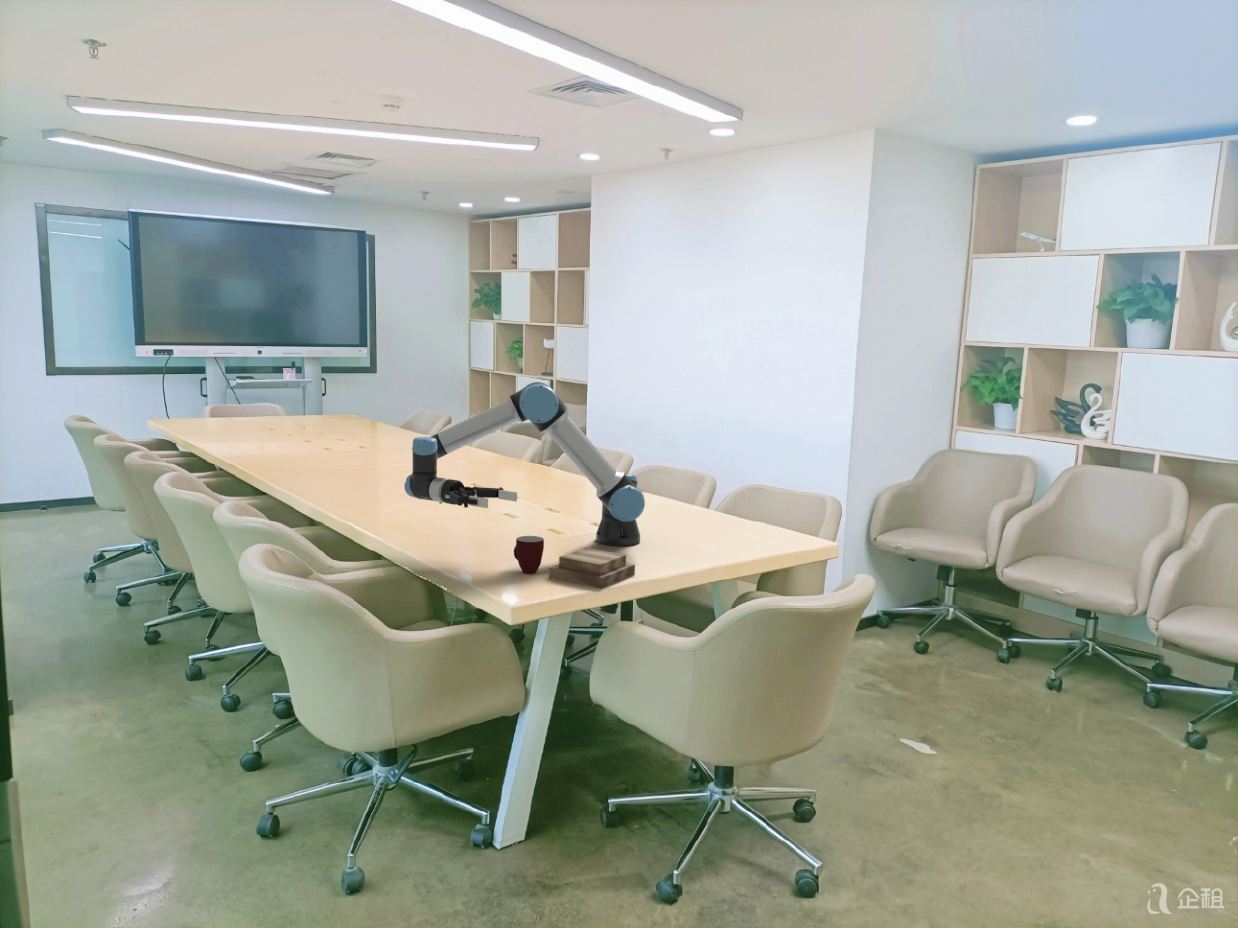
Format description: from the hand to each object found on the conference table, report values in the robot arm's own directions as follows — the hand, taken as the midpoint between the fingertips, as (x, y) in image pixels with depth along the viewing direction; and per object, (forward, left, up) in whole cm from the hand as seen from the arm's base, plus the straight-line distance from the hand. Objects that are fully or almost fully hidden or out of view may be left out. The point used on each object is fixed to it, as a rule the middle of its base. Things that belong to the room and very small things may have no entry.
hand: (502, 500), depth 256 cm
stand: (-8, +27, -20) cm, 35 cm away
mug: (0, +9, -20) cm, 22 cm away
